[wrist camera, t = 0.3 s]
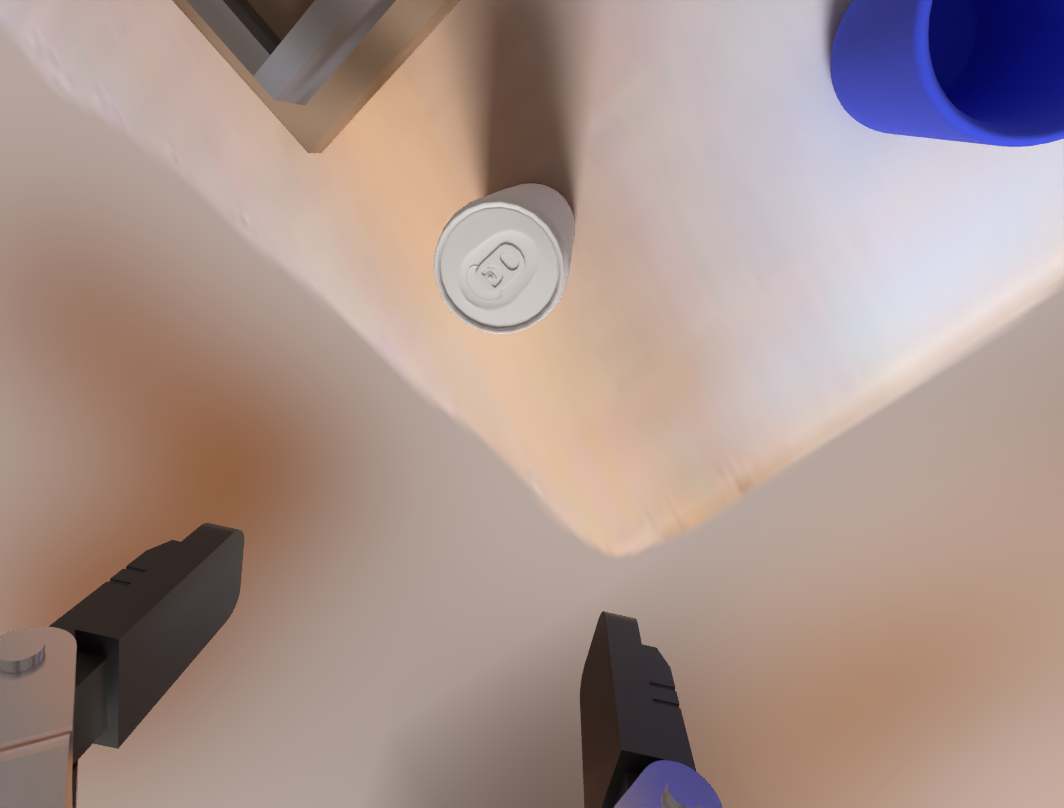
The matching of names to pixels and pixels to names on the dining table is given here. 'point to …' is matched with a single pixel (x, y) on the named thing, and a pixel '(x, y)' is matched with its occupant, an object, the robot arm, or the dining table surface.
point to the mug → (954, 69)
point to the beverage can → (506, 258)
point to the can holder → (315, 53)
